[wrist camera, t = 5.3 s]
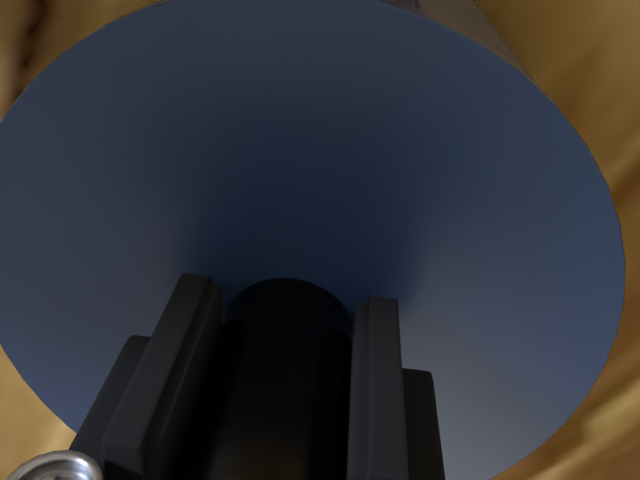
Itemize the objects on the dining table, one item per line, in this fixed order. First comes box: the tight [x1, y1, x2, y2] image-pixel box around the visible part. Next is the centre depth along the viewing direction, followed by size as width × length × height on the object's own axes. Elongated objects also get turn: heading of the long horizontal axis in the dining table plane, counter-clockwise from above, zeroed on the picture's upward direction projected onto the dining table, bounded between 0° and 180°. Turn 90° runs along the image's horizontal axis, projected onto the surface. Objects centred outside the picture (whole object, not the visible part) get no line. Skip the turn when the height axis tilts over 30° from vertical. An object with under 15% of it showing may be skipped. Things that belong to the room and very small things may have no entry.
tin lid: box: [0, 0, 626, 480], centre depth 10 cm, size 13×13×6 cm
